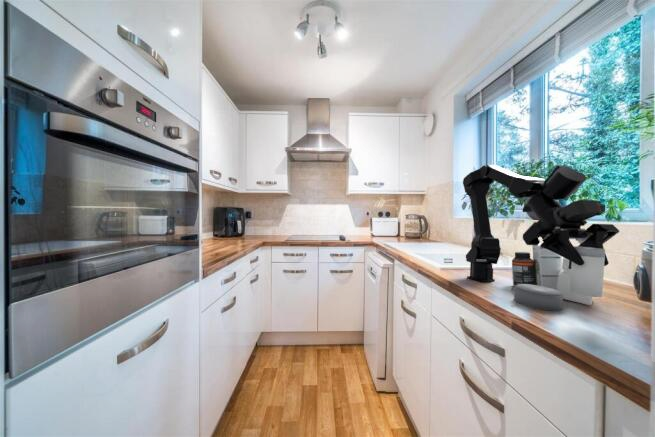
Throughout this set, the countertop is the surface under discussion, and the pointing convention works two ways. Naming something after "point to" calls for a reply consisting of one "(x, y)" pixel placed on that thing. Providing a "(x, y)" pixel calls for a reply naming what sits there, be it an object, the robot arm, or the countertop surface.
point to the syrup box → (546, 266)
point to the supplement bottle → (523, 269)
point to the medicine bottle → (564, 285)
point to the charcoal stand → (538, 297)
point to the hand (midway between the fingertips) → (594, 264)
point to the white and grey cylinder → (588, 272)
